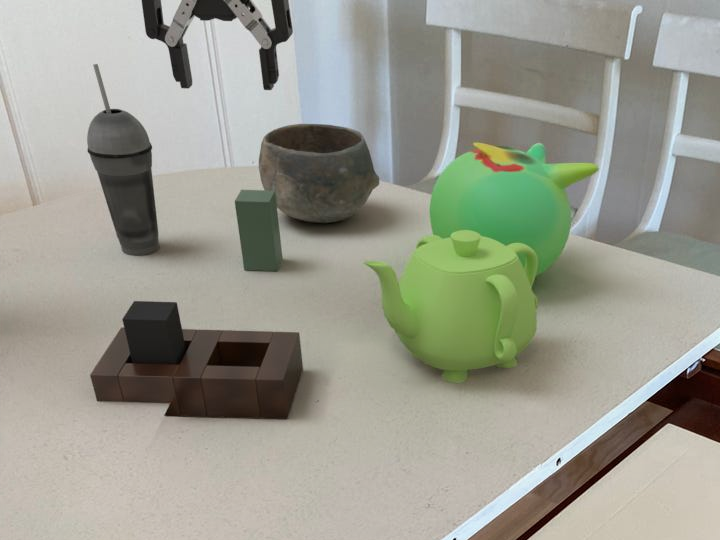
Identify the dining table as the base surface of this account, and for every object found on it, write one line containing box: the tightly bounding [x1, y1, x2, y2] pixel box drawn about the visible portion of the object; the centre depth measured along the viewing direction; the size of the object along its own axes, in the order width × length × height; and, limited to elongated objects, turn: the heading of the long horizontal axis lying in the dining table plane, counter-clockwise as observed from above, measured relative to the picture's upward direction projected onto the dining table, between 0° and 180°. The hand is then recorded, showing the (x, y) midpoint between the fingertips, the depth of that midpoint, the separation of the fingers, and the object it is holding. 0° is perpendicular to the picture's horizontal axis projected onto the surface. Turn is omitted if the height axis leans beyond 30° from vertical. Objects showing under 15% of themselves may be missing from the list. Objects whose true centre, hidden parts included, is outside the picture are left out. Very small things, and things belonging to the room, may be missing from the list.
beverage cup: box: [86, 63, 160, 256], centre depth 114 cm, size 7×7×20 cm
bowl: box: [258, 123, 380, 224], centre depth 127 cm, size 14×15×10 cm
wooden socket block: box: [89, 326, 304, 420], centre depth 93 cm, size 18×10×4 cm, turn 89°
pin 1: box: [121, 300, 186, 365], centre depth 92 cm, size 4×4×8 cm
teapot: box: [362, 230, 539, 384], centre depth 96 cm, size 16×14×13 cm
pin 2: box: [234, 189, 283, 272], centre depth 115 cm, size 4×4×8 cm
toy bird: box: [429, 141, 600, 277], centre depth 113 cm, size 18×17×15 cm
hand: (227, 87), depth 101 cm, fingers open, 8 cm apart
